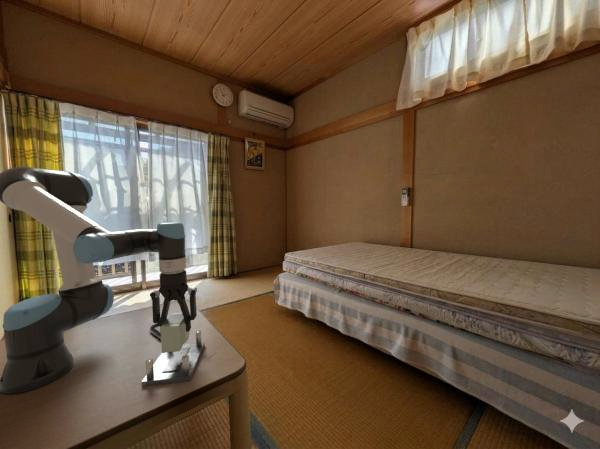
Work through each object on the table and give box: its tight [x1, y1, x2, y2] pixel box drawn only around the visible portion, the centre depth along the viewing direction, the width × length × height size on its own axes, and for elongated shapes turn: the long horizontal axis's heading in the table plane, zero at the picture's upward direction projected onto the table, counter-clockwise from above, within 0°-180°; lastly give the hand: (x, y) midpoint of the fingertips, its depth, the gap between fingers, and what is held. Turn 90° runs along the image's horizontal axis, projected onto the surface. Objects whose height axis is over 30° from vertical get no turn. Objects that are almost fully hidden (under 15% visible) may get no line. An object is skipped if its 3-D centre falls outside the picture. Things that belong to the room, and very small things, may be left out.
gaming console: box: [149, 323, 161, 340], centre depth 96 cm, size 19×9×2 cm, turn 53°
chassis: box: [141, 330, 206, 387], centre depth 77 cm, size 13×18×6 cm
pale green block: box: [160, 311, 190, 353], centre depth 76 cm, size 5×10×8 cm, turn 10°
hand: (176, 341), depth 77 cm, fingers closed on pale green block, 5 cm apart
